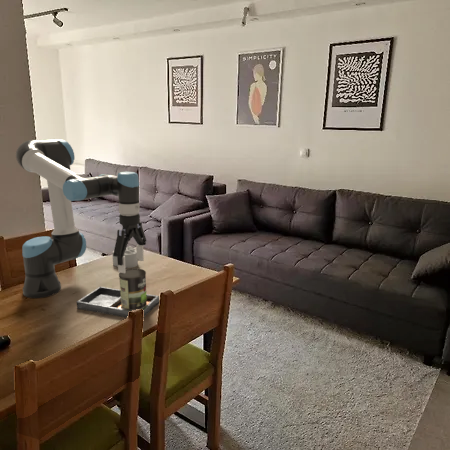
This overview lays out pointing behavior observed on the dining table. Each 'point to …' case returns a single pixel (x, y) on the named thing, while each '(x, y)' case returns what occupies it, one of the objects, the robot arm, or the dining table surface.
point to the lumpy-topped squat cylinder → (128, 258)
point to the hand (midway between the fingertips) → (131, 266)
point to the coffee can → (133, 289)
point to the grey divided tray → (111, 302)
